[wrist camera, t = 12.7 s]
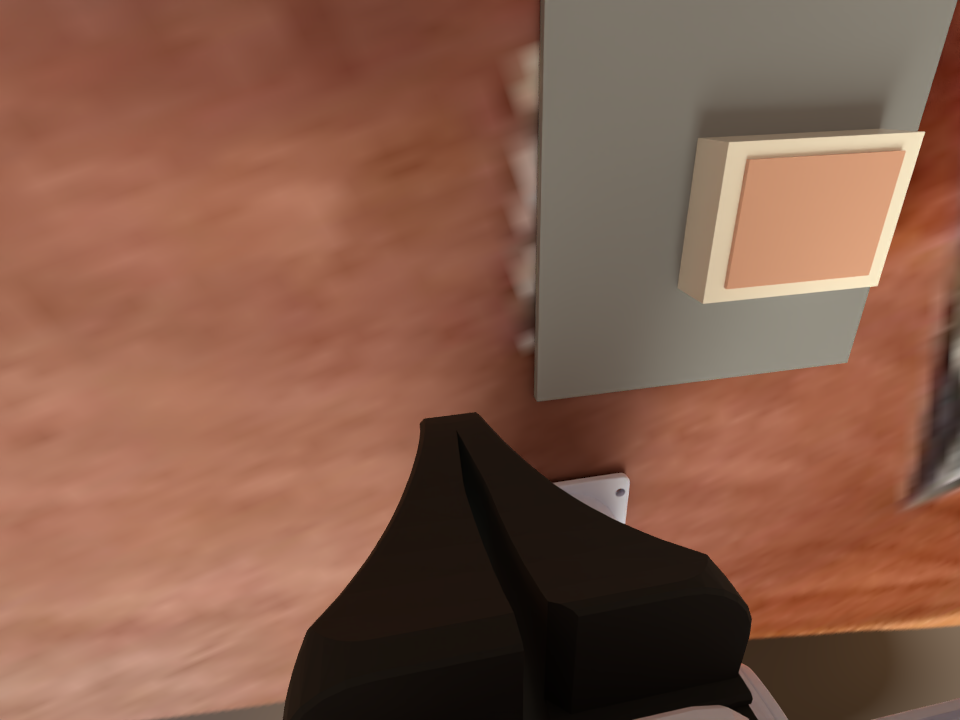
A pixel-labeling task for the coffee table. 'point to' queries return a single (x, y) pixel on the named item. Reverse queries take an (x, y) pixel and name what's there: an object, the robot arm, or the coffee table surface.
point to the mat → (670, 164)
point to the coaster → (793, 212)
